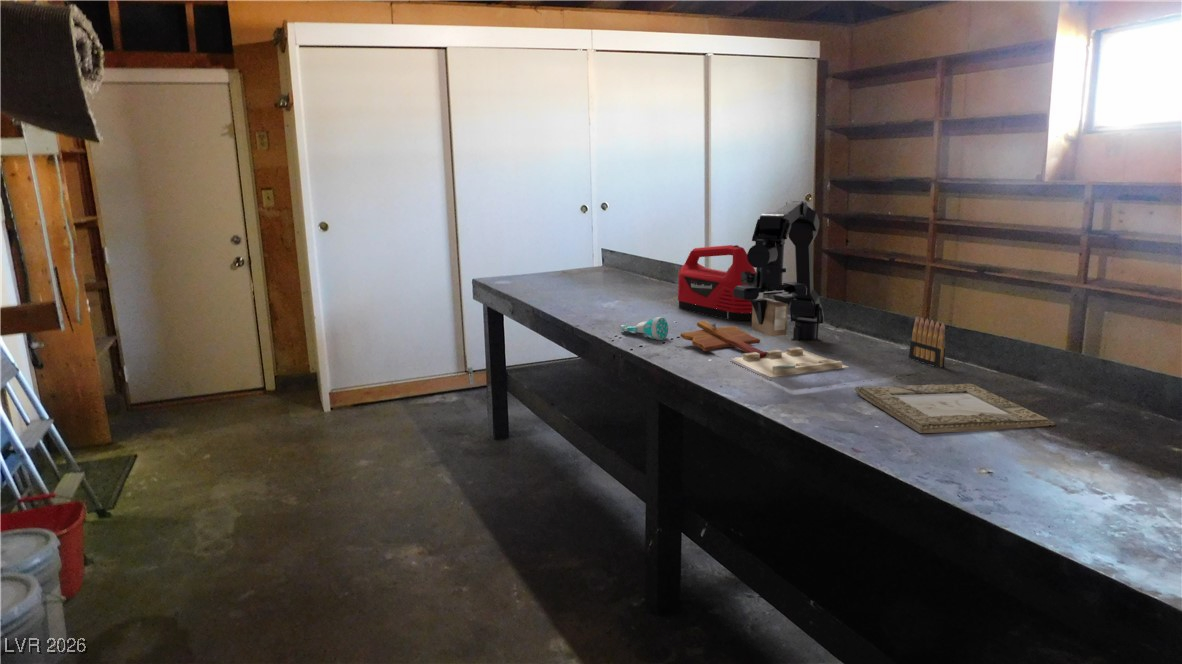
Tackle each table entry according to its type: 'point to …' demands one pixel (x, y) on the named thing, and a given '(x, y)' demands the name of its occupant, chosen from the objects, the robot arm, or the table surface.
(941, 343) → the ammunition clip
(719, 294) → the power tool
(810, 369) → the birch notch board
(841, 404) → the table surface
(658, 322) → the garden hose nozzle
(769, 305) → the brown wooden box
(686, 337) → the sign
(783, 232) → the robot arm
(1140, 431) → the table surface
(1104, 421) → the table surface
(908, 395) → the picture frame
